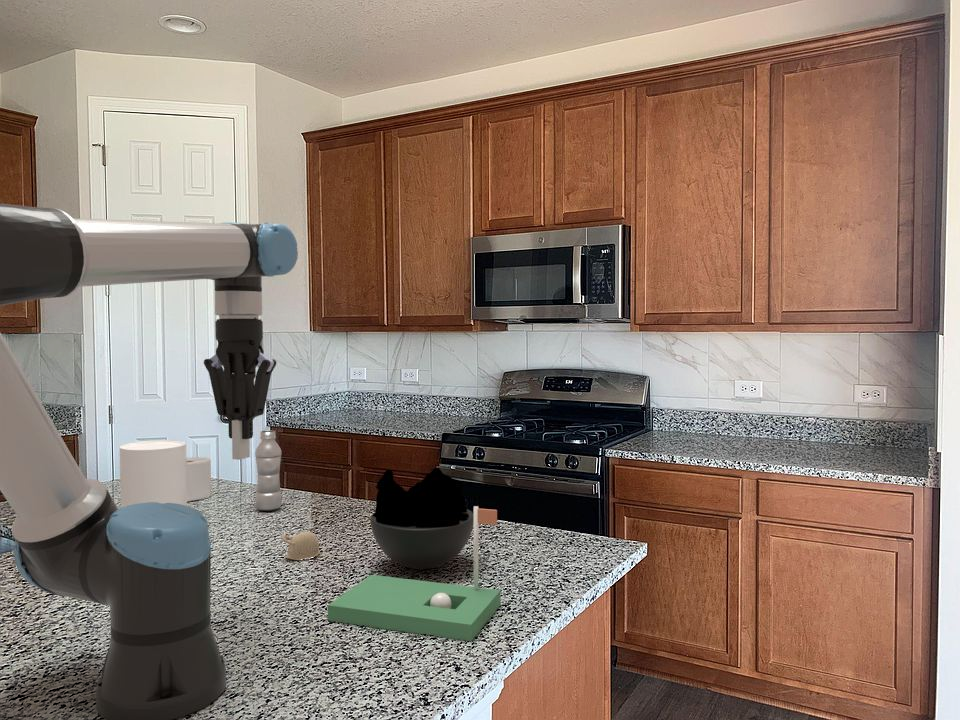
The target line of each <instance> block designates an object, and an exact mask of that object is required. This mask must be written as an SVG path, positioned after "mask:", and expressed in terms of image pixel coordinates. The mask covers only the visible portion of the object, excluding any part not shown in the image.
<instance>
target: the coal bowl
mask: <svg viewBox="0 0 960 720" xmlns="http://www.w3.org/2000/svg"><path fill="white" fill-rule="evenodd" d="M463 488H464V486H463V483H462V482H461V481H459V480H458V479H457V478H453V477H451V476H450V475H447V474H445V473H443V471H442V470H441V469H440V468H439V467H433V469H432V470H431V471H430V472H429V473H426V474H425V477H424V478H423V479H422V480H421V481H418V482H417V483H415V484H414V485H413V486H410V487H409V488H408V489H407V490H405V489H404V488H403V486H401V485H400V484H398V483H397V482H396V481H395V479H394V472H393V470H392V469H386V470H385V471H384V472H383V474H382V477H381V478H380V479H379V480H378V481H377V483H376V489H377V493H376V499H375V500H376V503H375V512H373V513H372V514H371V516H370V520H369V521H370V527H371V531H372V535H373V538H374V539H375V541H376V543H377V545H378V546H379V548H380V550H381V551H382V552H383V553H384V554H385V555H386V556H387V558H389V559H390V560H392V561H393V562H395V563H397V564H398V565H401V566H403V567H405V568H409V569H413V570H414V569H415V570H428V569H433V568H437V567H440V566H442V565H444V564H447V563H449V562H450V561H451V560H453V559H454V558H455V557H457V556H458V555H459V553H461V552H462V550H463V549H464V547H465V546H466V545H467V543H468V542H469V539H470V537H471V535H472V532H473V530H474V511H472V510H470V509H468V508H467V501H466V500H465V498H464V496H463V494H462V490H463Z"/></svg>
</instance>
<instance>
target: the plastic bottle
mask: <svg viewBox="0 0 960 720" xmlns="http://www.w3.org/2000/svg"><path fill="white" fill-rule="evenodd" d="M259 436H260V437H259V439H260V440H261V441H260V443H258V445H257V446H256V448H255V454H254V455H255V456H254V457H255V461H256V462H255V463H256V470H257V471H256V472H257V483H256V485H257V487H256V492H255V493H256V494H255V500H254V501H255V506H256V508H257V510H259V511H266V512H269V511H270V512H271V511H274V510H277V509H280V507H281V506H282V501H283V496H282V490H281V482H280V470H281V468H280V467H281V461H282V459H281V458H282V449H281V447H280V446H279V443H277V441H276V439H277V436H276V430H273V429H271V430H268V429H267V430H261V431H260V435H259Z"/></svg>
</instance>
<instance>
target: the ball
mask: <svg viewBox="0 0 960 720" xmlns="http://www.w3.org/2000/svg"><path fill="white" fill-rule="evenodd" d="M451 605H452V603H451V599H450V597H449V596H448V595H447V594H445V593H437V594H435V595H434V596H433V597H432V598H431V600H430V606H432V607H440V608H448V609H451Z"/></svg>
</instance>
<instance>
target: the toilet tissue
mask: <svg viewBox="0 0 960 720" xmlns="http://www.w3.org/2000/svg"><path fill="white" fill-rule="evenodd" d="M211 462H212V461H211V458H208V457H202V456H201V457H200V456H197V457H195V456H194V457H193V456H192V457H186V480H187V502H191V501H199V500H203V499H205V500H206V499H207V498H210V497H211V496H212V473H211V472H212V471H211V467H212V466H211V464H212V463H211Z"/></svg>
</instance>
